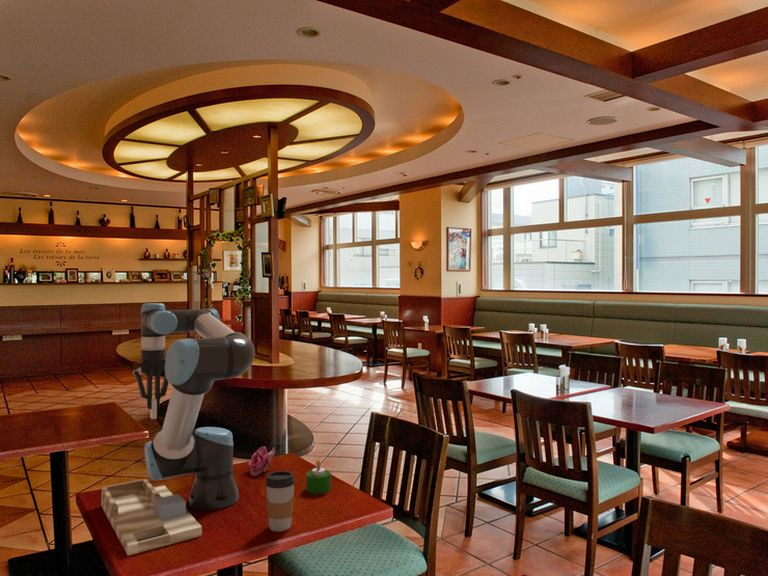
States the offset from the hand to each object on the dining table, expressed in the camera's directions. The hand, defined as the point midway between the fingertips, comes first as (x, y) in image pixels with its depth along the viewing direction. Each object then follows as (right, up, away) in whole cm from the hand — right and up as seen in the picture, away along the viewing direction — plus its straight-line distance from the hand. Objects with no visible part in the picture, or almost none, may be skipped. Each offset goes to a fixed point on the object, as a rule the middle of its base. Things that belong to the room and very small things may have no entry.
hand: (153, 418), depth 186 cm
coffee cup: (+49, -25, -28) cm, 61 cm away
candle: (+56, -25, +1) cm, 61 cm away
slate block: (+16, -22, -26) cm, 37 cm away
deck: (+9, -25, -24) cm, 35 cm away
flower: (+33, -25, +18) cm, 45 cm away
